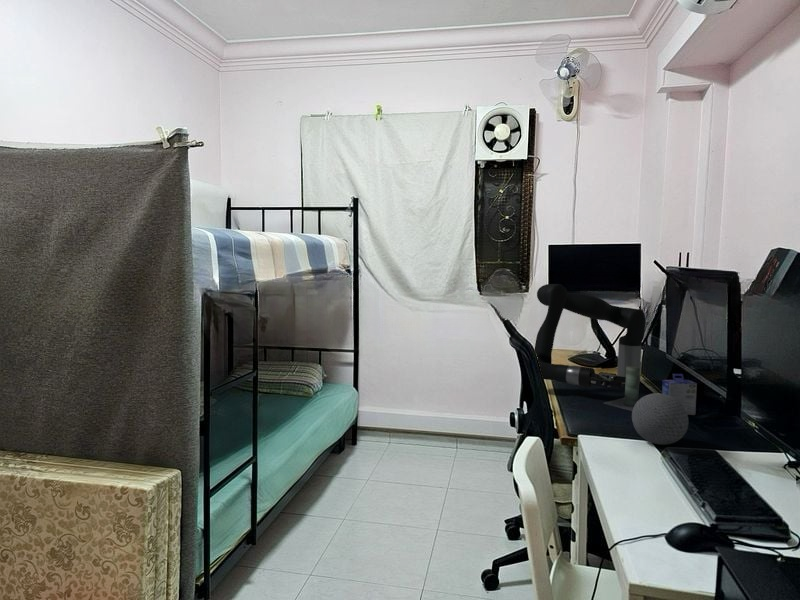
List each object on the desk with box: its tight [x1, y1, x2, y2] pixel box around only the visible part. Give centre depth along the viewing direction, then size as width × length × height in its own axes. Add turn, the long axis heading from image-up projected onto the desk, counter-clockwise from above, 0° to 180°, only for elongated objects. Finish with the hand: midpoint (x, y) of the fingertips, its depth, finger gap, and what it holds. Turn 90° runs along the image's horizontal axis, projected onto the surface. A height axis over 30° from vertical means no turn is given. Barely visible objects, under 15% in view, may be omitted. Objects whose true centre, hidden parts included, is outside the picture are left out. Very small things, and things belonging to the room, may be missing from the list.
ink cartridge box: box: [661, 373, 698, 416], centre depth 176 cm, size 10×6×14 cm, turn 89°
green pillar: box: [624, 366, 641, 407], centre depth 185 cm, size 5×5×14 cm
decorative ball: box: [631, 392, 689, 446], centre depth 149 cm, size 15×15×15 cm
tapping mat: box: [603, 396, 634, 412], centre depth 185 cm, size 14×14×1 cm
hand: (624, 382), depth 186 cm, fingers open, 8 cm apart
